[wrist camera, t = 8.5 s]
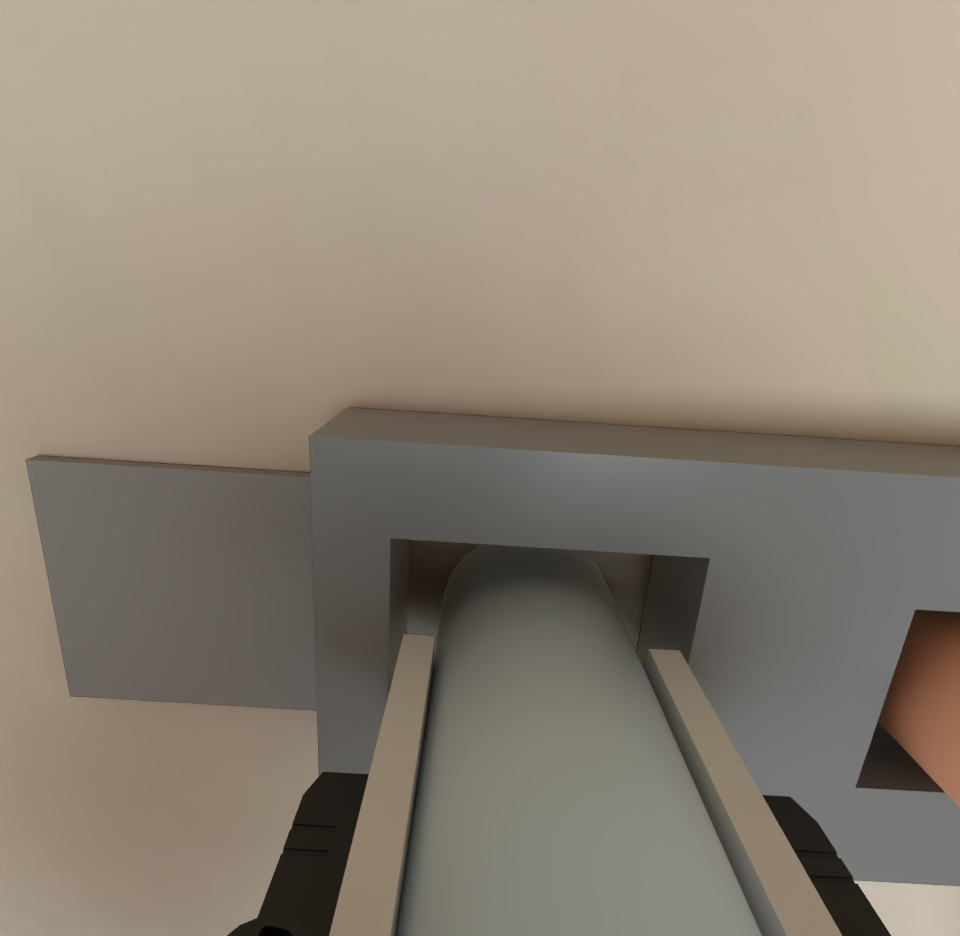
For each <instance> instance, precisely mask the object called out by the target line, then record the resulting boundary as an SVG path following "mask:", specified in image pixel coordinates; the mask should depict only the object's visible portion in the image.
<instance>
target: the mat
mask: <svg viewBox="0 0 960 936" xmlns="http://www.w3.org/2000/svg"><path fill="white" fill-rule="evenodd" d="M26 464H27V469H28V474H29V480H30V485H31V490H32V496H33V501H34V506H35V512H36V517H37V522H38V528H39V533H40V538H41V544H42V549H43V554H44V560H45V565H46V570H47V576H48V581H49V586H50V592H51V597H52V602H53V608H54V613H55V618H56V624H57V629H58V634H59V640H60V645H61V650H62V656H63V661H64V666H65V672H66V677H67V682H68V688H69V693H70V696H74V697H91V698H108V699H125V700H142V701H160V702H177V703H194V704H211V705H228V706H246V707H263V708H280V709H297V710H314V711H317V690H316V655H315V620H314V585H313V550H312V516H311V481H310V473H303V472H287V471H271V470H255V469H239V468H223V467H208V466H192V465H176V464H160V463H144V462H128V461H112V460H96V459H81V458H65V457H49V456H35V457H32V458H29V459H26Z"/></svg>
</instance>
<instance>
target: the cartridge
mask: <svg viewBox="0 0 960 936" xmlns="http://www.w3.org/2000/svg"><path fill="white" fill-rule="evenodd" d="M396 936H762V935H761V932H760V930H759V928H758V926H757V923H756V921H755V919H754V917H753V914H752V912H751V910H750V907H749V905H748V903H747V901H746V898H745V896H744V894H743V892H742V889H741V887H740V885H739V883H738V880H737V878H736V876H735V874H734V871H733V869H732V867H731V864H730V862H729V860H728V858H727V855H726V853H725V851H724V849H723V846H722V844H721V842H720V840H719V837H718V835H717V833H716V831H715V828H714V826H713V824H712V822H711V819H710V817H709V815H708V812H707V810H706V808H705V806H704V803H703V801H702V799H701V797H700V794H699V792H698V790H697V788H696V785H695V783H694V781H693V779H692V776H691V774H690V772H689V770H688V767H687V765H686V763H685V760H684V758H683V756H682V754H681V751H680V749H679V747H678V745H677V742H676V740H675V738H674V736H673V733H672V731H671V729H670V727H669V724H668V722H667V720H666V717H665V715H664V713H663V711H662V708H661V706H660V704H659V702H658V699H657V697H656V695H655V693H654V690H653V688H652V686H651V684H650V681H649V679H648V677H647V675H646V672H645V670H644V668H643V665H642V663H641V661H640V659H639V656H638V654H637V652H636V650H635V647H634V645H633V643H632V641H631V638H630V636H629V634H628V632H627V629H626V627H625V625H624V623H623V620H622V618H621V616H620V613H619V611H618V609H617V607H616V604H615V602H614V600H613V598H612V595H611V593H610V591H609V589H608V586H607V584H606V582H605V580H604V577H603V575H602V573H601V572H600V570H599V568H598V566H597V565H596V564H595V562H594V561H593V560H592V559H591V558H590V557H589V556H588V555H587V554H586V553H585V552H584V551H583V550H569V549H553V548H537V547H521V546H505V545H488V544H480V545H478V546H477V547H475V548H474V549H472V550H471V551H470V552H469V553H468V554H467V555H465V556H464V557H463V558H462V559H461V561H460V562H459V563H458V564H457V565H456V567H455V568H454V570H453V572H452V573H451V575H450V577H449V579H448V582H447V584H446V588H445V591H444V596H443V603H442V610H441V617H440V624H439V631H438V638H437V645H436V652H435V659H434V669H433V676H432V684H431V691H430V698H429V705H428V712H427V719H426V726H425V733H424V740H423V747H422V755H421V762H420V769H419V776H418V783H417V790H416V797H415V804H414V811H413V818H412V826H411V833H410V840H409V847H408V854H407V861H406V868H405V875H404V882H403V889H402V897H401V904H400V911H399V918H398V925H397V932H396Z"/></svg>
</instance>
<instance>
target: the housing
mask: <svg viewBox="0 0 960 936" xmlns="http://www.w3.org/2000/svg"><path fill="white" fill-rule="evenodd" d="M309 446H310V481H311V516H312V550H313V585H314V620H315V655H316V690H317V724H318V759H319V776H320V775H321V774H322V772H338V773H356V774H369V772H370V768H371V764H372V760H373V756H374V752H375V748H376V744H377V740H378V736H379V732H380V728H381V724H382V720H383V716H384V711H385V707H386V703H387V699H388V695H389V691H390V687H391V683H392V679H393V675H394V671H395V667H396V663H397V659H398V655H399V651H400V647H401V643H402V639H403V635H404V634H407V599H408V563H409V540H424V541H440V542H456V543H472V544H488V545H505V546H521V547H537V548H553V549H569V550H586V551H602V552H618V553H634V554H650V555H653V560H652V566H651V572H650V578H649V583H648V589H647V595H646V601H645V607H644V612H643V618H642V624H641V630H640V636H639V641H638V647H637V654H638V656H639V659H640V661H641V663H642V665H643V668H644V670H645V666H646V660H647V655H648V649H662V650H679V651H680V652H681V654H682V655H683V657H684V659H685V661H686V662H687V664H688V666H689V668H690V669H691V671H692V673H693V675H694V676H695V678H696V680H697V682H698V684H699V685H700V687H701V689H702V691H703V692H704V694H705V696H706V698H707V699H708V701H709V703H710V705H711V706H712V708H713V710H714V712H715V713H716V715H717V717H718V719H719V720H720V722H721V724H722V726H723V727H724V729H725V731H726V733H727V734H728V736H729V738H730V740H731V741H732V743H733V745H734V747H735V748H736V750H737V752H738V754H739V755H740V757H741V759H742V761H743V762H744V764H745V766H746V768H747V769H748V771H749V773H750V775H751V776H752V778H753V780H754V782H755V784H756V785H757V787H758V789H759V791H760V792H761V794H762V795H772V796H790V797H791V798H792V799H794V800H795V801H796V802H797V803H798V804H799V805H800V806H801V807H802V808H803V809H804V810H805V811H806V812H807V813H808V814H809V815H810V816H811V817H812V818H814V819H815V820H816V821H817V822H818V824H819V825H820V827H821V828H822V830H823V831H824V833H825V835H826V836H827V838H828V839H829V841H830V842H831V844H832V845H833V847H834V848H835V850H836V852H837V856H838V858H841V859H842V861H843V862H844V864H845V865H846V867H847V869H848V870H849V872H850V873H851V875H852V876H853V880H857V881H875V882H893V883H911V884H929V885H947V886H960V807H959V806H958V805H957V804H956V803H955V802H954V801H953V800H952V799H951V798H950V797H949V796H948V795H947V794H946V793H945V792H944V791H943V790H942V789H941V787H940V786H939V785H938V784H937V783H936V782H935V781H934V780H933V779H932V778H931V777H930V776H929V775H928V774H927V773H926V772H925V771H924V770H923V769H922V768H921V766H920V765H919V764H918V763H917V762H916V761H915V760H914V759H913V758H912V757H911V756H910V755H909V754H908V753H907V752H906V751H905V750H904V749H903V748H902V746H901V745H900V744H899V743H898V742H897V741H896V740H895V739H894V738H893V737H892V736H891V735H890V734H889V733H888V732H887V731H886V730H885V729H884V728H883V727H882V725H881V724H880V723H879V722H878V719H879V716H880V713H881V710H882V707H883V704H884V701H885V698H886V695H887V692H888V689H889V686H890V683H891V680H892V677H893V674H894V672H895V669H896V666H897V663H898V660H899V657H900V654H901V651H902V648H903V645H904V642H905V639H906V636H907V633H908V630H909V627H910V624H911V621H912V618H913V615H914V612H915V610H931V611H948V612H960V447H956V446H941V445H925V444H910V443H894V442H879V441H863V440H847V439H832V438H816V437H801V436H785V435H770V434H754V433H739V432H723V431H708V430H692V429H677V428H661V427H646V426H630V425H614V424H599V423H583V422H568V421H552V420H537V419H521V418H506V417H490V416H475V415H459V414H444V413H428V412H413V411H397V410H381V409H366V408H350V407H348V408H347V409H346V410H344V411H343V412H341V413H340V414H339V415H337V416H336V417H335V418H333V419H332V420H331V421H329V422H328V423H326V424H325V425H324V426H322V427H321V428H320V429H318V430H317V431H315V432H314V433H313V434H311V435H310V436H309Z"/></svg>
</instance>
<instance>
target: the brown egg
mask: <svg viewBox="0 0 960 936" xmlns="http://www.w3.org/2000/svg"><path fill="white" fill-rule="evenodd" d="M878 722H879V723H880V724H881V725H882V727H883V728H884V729H885V730H886V731H887V732H888V733H889V734H890V735H891V736H892V737H893V738H894V739H895V740H896V741H897V742H898V743H899V744H900V745H901V746H902V748H903V749H904V750H905V751H906V752H907V753H908V754H909V755H910V756H911V757H912V758H913V759H914V760H915V761H916V762H917V763H918V764H919V765H920V766H921V768H922V769H923V770H924V771H925V772H926V773H927V774H928V775H929V776H930V777H931V778H932V779H933V780H934V781H935V782H936V783H937V784H938V785H939V786H940V787H941V789H942V790H943V791H944V792H945V793H946V794H947V795H948V796H949V797H950V798H951V799H952V800H953V801H954V802H955V803H956V804H957V805H958V806H959V807H960V612H948V611H931V610H915V612H914V615H913V618H912V621H911V624H910V627H909V630H908V633H907V636H906V639H905V642H904V645H903V648H902V651H901V654H900V657H899V660H898V663H897V666H896V669H895V672H894V674H893V677H892V680H891V683H890V686H889V689H888V692H887V695H886V698H885V701H884V704H883V707H882V710H881V713H880V716H879V719H878Z"/></svg>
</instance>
